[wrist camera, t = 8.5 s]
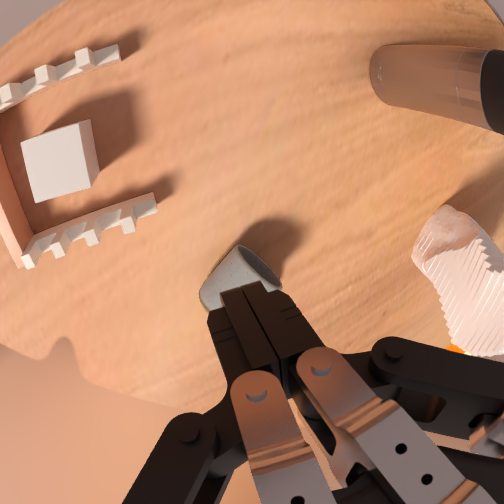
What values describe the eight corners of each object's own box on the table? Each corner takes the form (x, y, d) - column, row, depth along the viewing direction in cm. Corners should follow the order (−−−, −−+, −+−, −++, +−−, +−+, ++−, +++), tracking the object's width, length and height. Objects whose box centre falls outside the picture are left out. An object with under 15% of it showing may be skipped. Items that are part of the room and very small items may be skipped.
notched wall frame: (119, 47, 23) (113, 38, 19) (156, 204, 33) (159, 223, 28) (-24, 113, 20) (-48, 119, 15) (25, 252, 29) (11, 275, 25)
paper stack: (438, 179, 46) (557, 246, 24) (474, 239, 59) (551, 295, 38) (374, 275, 51) (476, 373, 30) (427, 309, 65) (495, 376, 44)
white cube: (40, 133, 24) (20, 142, 19) (90, 118, 26) (78, 122, 21) (51, 185, 27) (35, 203, 22) (100, 172, 29) (91, 187, 24)
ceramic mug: (189, 282, 39) (201, 321, 33) (229, 234, 38) (249, 267, 31) (246, 311, 45) (265, 348, 39) (283, 271, 44) (308, 304, 37)
